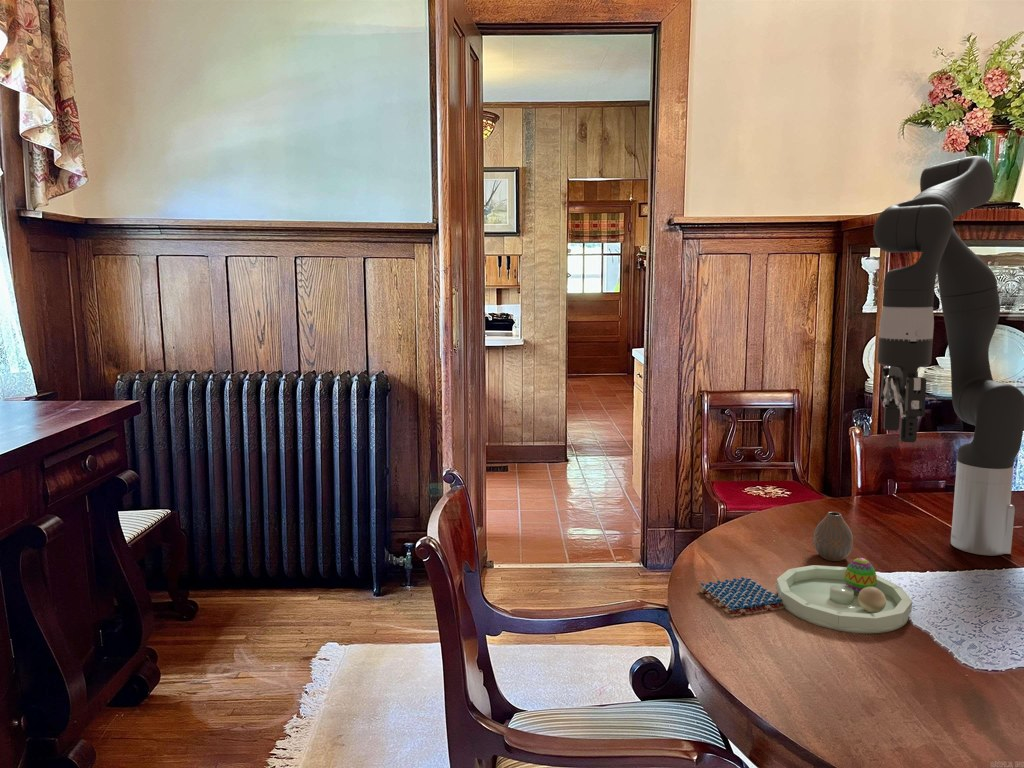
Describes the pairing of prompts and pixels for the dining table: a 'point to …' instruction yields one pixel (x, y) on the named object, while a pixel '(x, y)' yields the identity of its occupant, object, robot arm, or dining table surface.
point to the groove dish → (837, 616)
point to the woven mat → (741, 596)
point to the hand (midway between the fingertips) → (899, 435)
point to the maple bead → (872, 599)
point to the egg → (860, 575)
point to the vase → (833, 537)
